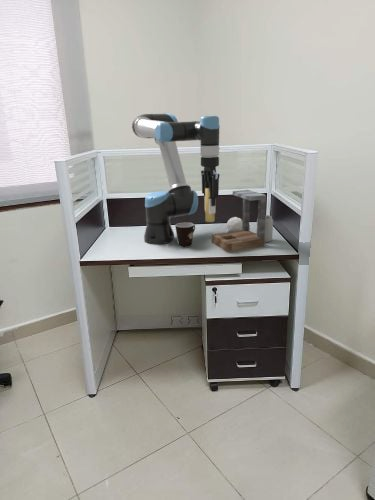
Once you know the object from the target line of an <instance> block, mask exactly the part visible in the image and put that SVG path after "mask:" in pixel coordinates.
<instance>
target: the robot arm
mask: <svg viewBox="0 0 375 500" xmlns="http://www.w3.org/2000/svg"><path fill="white" fill-rule="evenodd" d="M131 124H132V125H131V128H132V132H133V133H134V135H135V136H136V137H139V138H141V139H154V143H155V144H157V145H158V146H159V149H160V154H161V157H162V162H163V165H164V169H165V173H166V178H167V180H168V185H169V189H168V190H167V191H166V190H161V191H159V190H158V191H154V192H150V193H148V194H147V195H146V196H145V197H144V198H145V199H144V207H145V220H146V227H145V231H144V234H143V235H144V236H143V239H144V242H146V243H147V244H153V245H160V244H167V243H171V242H172V241H174V240H175V233H174V230H173V228H172V225H171V218H177V217H183V216H188V215H192V214H195V213H196V211H197V210H198V205H199V196H198V193H197V192H196V191H195V190H192V188H191V186H190V185H189V184H188V183H187V181H186V177H185V173H184V169H183V165H182V162H181V158H180V154H179V150H178V145H177V143H176V142H190V141H191V142H193V141H200V145H199V147H200V148H199V149H200V156H201V157H200V166H201V167H203V169H202V170H200V174H201V193H202V194H203V197H205V189H206V188H209V191H210V197H209V214H212V213H215V214H216V207H217V206H216V204H217V203H216V201H217V200H216V199H218V198H219V191H220V190H219V188H220V187H219V184H220V183H219V182H220V173H217V167H219V165H220V157H219V156H220V148H221V147H220V127H221V126H220V118H219V116H217V115H204V116H201V117H200V121H198V120H194V121H193V120H192V121H178V119H177V117H176V116H175V115H174V114H172V113H166V112H164V113H144V114H140V115H138V116H136V117H135V118H134V119H133V121H132V123H131Z"/></svg>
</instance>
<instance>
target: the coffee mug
mask: <svg viewBox="0 0 375 500" xmlns="http://www.w3.org/2000/svg"><path fill="white" fill-rule="evenodd" d="M174 226H175V232H176V238H177V244H178V247H180V248H190V247H192V246H193V239H194V238H193V237H194V232H195V230H196V225H195V224H194V223H192V222H185V221H184V222H178V223H176V224H175V225H174Z"/></svg>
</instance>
